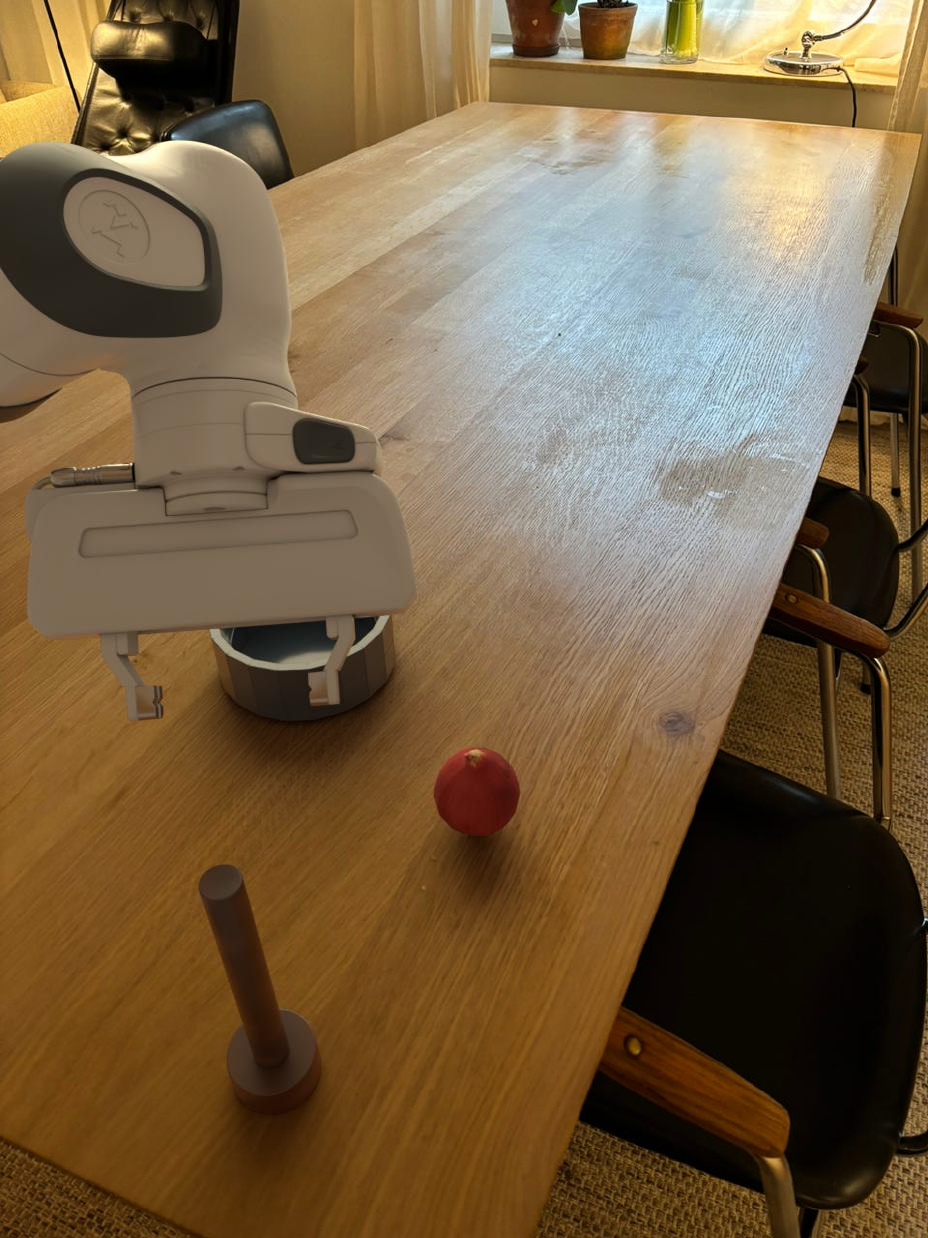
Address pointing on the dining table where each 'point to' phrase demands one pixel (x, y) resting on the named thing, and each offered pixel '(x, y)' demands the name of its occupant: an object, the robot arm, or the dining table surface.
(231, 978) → the upright rod on disc
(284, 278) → the robot arm
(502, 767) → the onion
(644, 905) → the dining table surface
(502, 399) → the dining table surface
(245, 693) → the bowl
